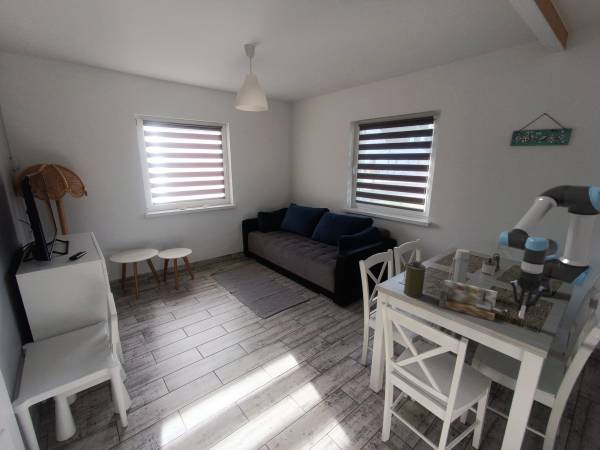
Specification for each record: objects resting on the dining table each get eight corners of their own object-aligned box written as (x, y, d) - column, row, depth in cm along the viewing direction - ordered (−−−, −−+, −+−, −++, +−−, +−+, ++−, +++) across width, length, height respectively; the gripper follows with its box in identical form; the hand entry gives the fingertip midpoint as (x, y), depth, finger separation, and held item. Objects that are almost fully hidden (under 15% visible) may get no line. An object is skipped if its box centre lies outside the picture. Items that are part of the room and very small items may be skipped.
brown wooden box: (493, 312, 137) (497, 291, 134) (493, 321, 129) (498, 299, 126) (441, 298, 150) (444, 279, 147) (438, 306, 142) (441, 286, 139)
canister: (423, 292, 157) (427, 260, 153) (421, 299, 148) (425, 266, 144) (404, 287, 163) (407, 257, 158) (401, 294, 154) (404, 262, 149)
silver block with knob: (508, 314, 131) (512, 297, 129) (509, 319, 127) (512, 302, 125) (475, 305, 139) (478, 289, 137) (475, 310, 134) (477, 294, 132)
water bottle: (461, 287, 164) (468, 249, 158) (466, 293, 156) (472, 253, 151) (445, 285, 166) (451, 247, 160) (448, 291, 159) (454, 251, 153)
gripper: (548, 271, 120) (537, 317, 126) (512, 265, 128) (503, 309, 133) (552, 277, 114) (540, 325, 120) (513, 270, 122) (504, 316, 127)
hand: (520, 316), depth 126 cm, fingers closed
